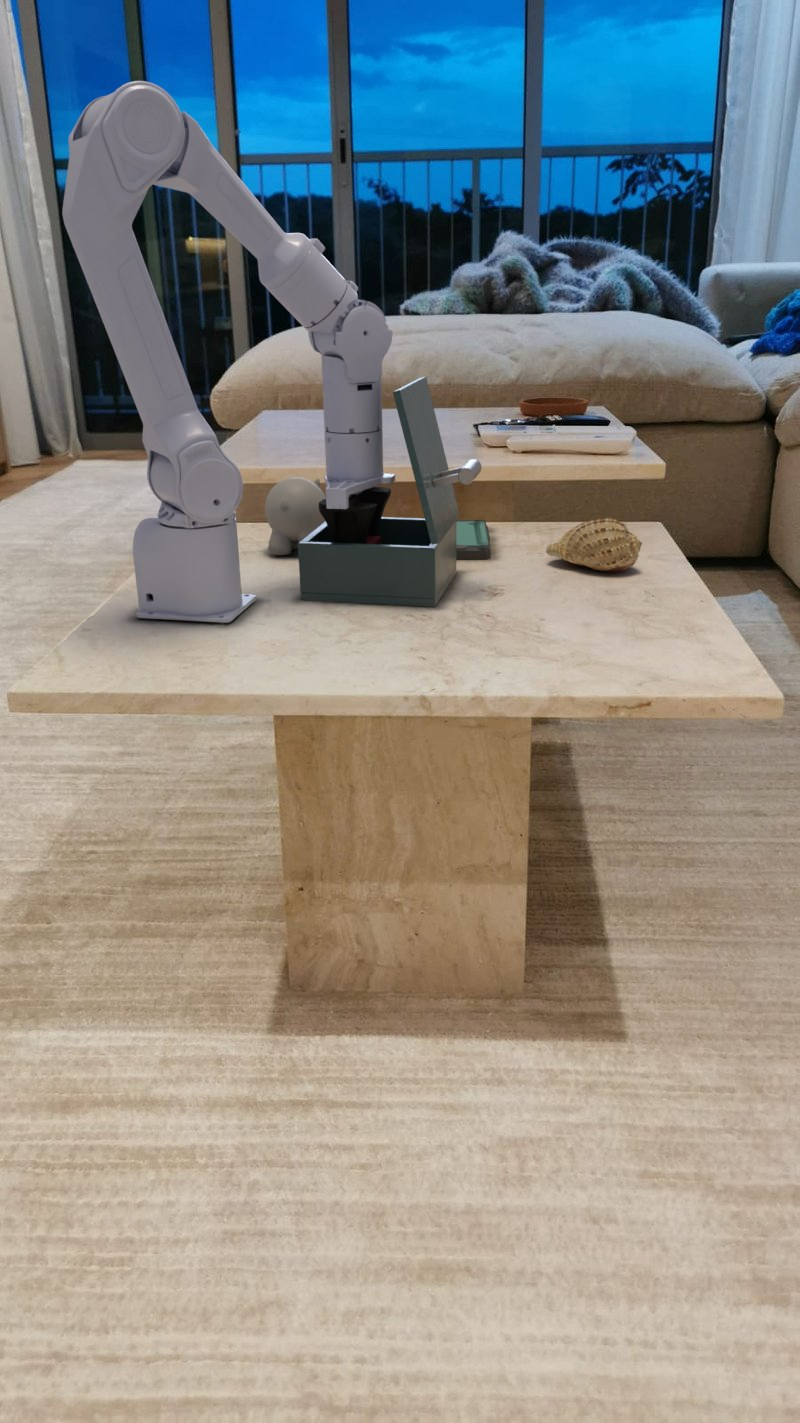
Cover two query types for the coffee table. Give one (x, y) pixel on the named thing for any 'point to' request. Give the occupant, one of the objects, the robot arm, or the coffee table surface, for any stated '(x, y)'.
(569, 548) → the seashell
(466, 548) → the smartphone
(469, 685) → the coffee table surface
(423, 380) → the lid
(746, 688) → the coffee table surface
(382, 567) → the grey-green open box
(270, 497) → the chubby cartoon animal
